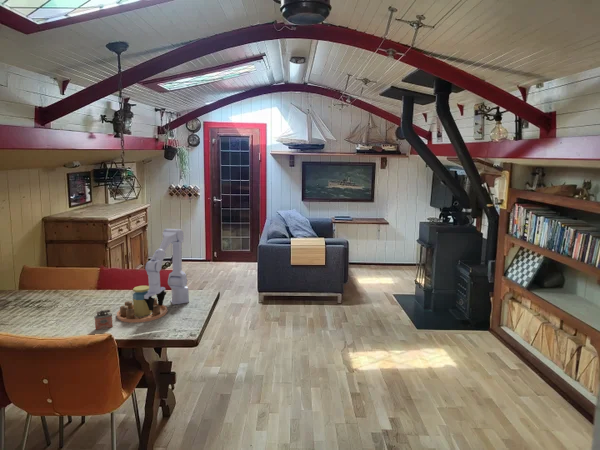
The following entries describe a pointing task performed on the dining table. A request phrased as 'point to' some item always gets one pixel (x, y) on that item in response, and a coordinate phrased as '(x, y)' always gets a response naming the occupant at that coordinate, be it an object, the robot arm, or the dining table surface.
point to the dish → (146, 318)
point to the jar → (140, 301)
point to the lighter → (103, 320)
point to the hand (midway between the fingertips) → (155, 307)
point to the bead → (156, 310)
